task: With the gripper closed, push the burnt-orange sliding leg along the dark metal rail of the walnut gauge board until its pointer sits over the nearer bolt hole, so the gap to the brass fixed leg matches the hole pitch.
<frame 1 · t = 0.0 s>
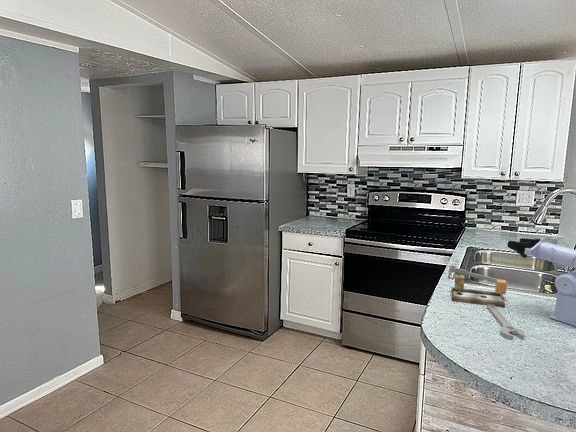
hand: (514, 242, 143), 22 cm above the worktop, tool horizontal, fingers open, 7 cm apart
adjustable wrench: (504, 324, 128), on the worktop
sliding leg: (501, 289, 146), point 4 cm above the worktop, slide at 0.0 cm
caliper: (473, 281, 170), on the worktop
gauge board: (476, 298, 149), on the worktop
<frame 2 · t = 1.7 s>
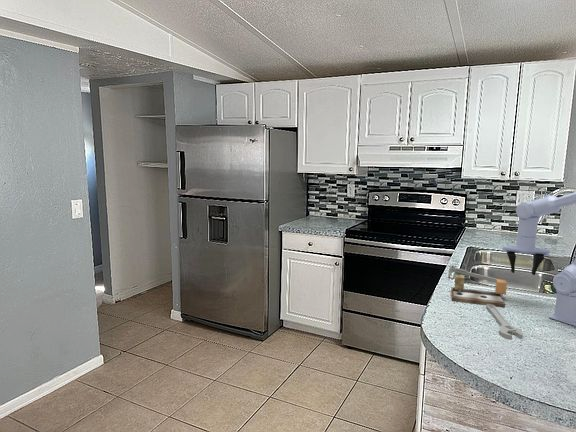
hand: (522, 273, 145), 10 cm above the worktop, tool pointing down, fingers open, 6 cm apart
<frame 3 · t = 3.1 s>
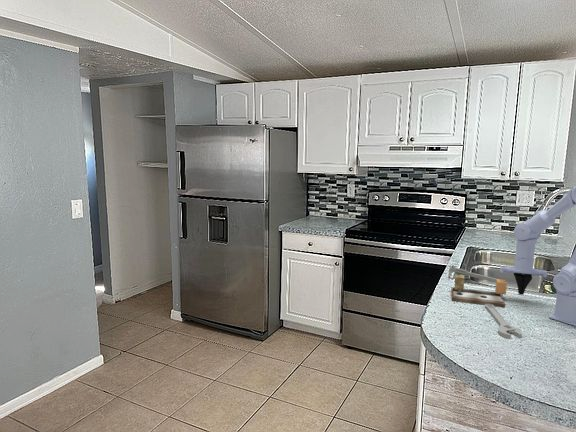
hand: (520, 293, 146), 3 cm above the worktop, tool pointing down, fingers closed
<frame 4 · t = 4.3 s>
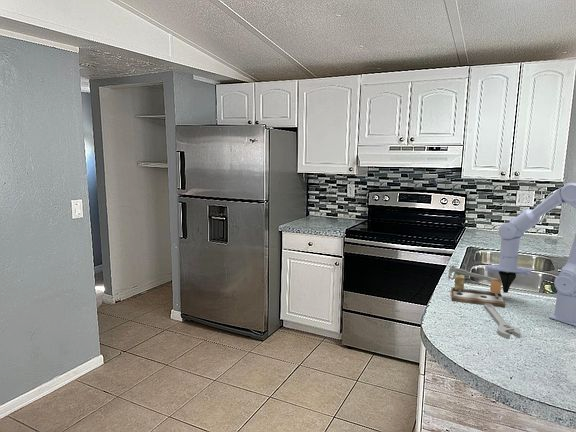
hand: (505, 291, 148), 3 cm above the worktop, tool pointing down, fingers closed
sliding leg: (496, 288, 146), point 4 cm above the worktop, slide at 1.7 cm, touching gripper
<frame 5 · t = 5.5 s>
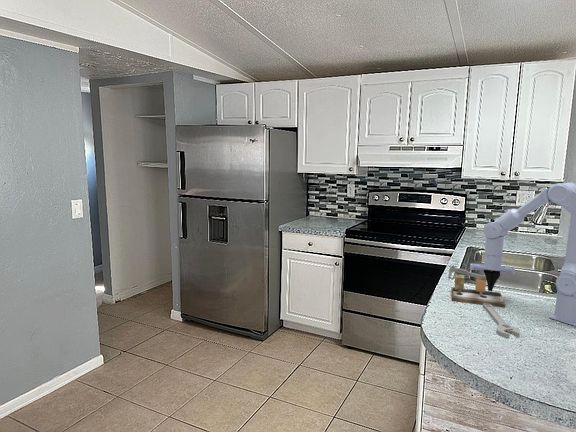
hand: (490, 290, 149), 3 cm above the worktop, tool pointing down, fingers closed
sliding leg: (481, 286, 148), point 4 cm above the worktop, slide at 6.7 cm, touching gripper
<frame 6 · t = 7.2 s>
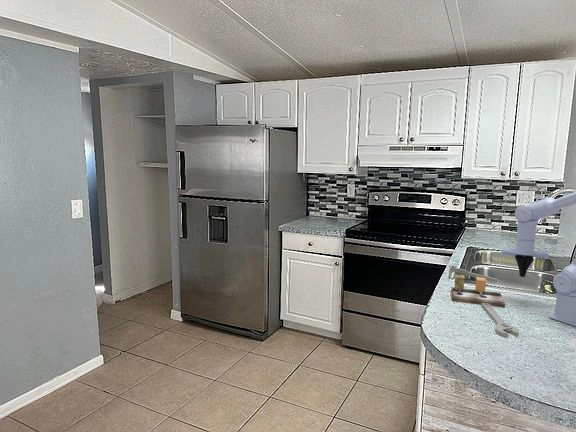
hand: (522, 276, 145), 9 cm above the worktop, tool pointing down, fingers closed
sliding leg: (481, 286, 148), point 4 cm above the worktop, slide at 6.8 cm
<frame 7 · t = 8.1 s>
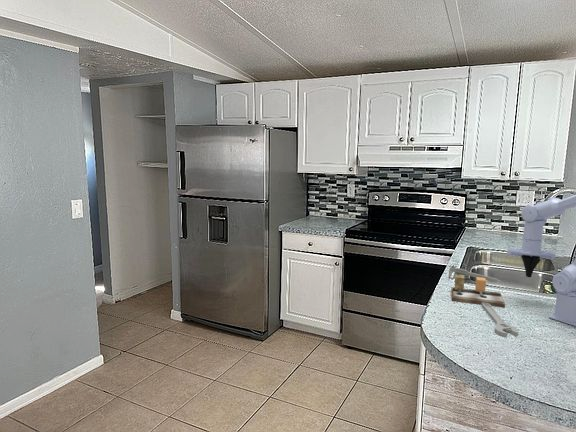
hand: (528, 276, 144), 9 cm above the worktop, tool pointing down, fingers closed
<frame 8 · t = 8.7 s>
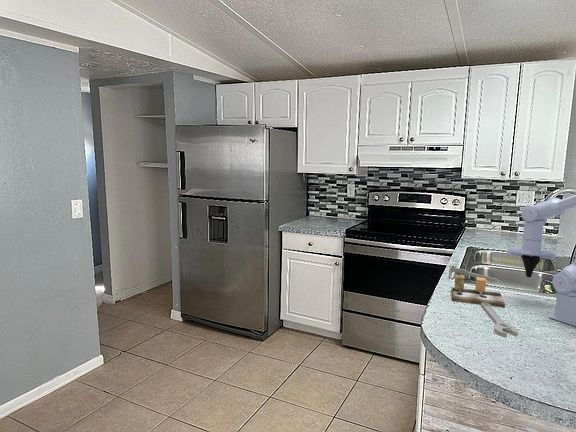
hand: (528, 276, 144), 9 cm above the worktop, tool pointing down, fingers closed
at the end: sliding leg slide at 6.8 cm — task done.
